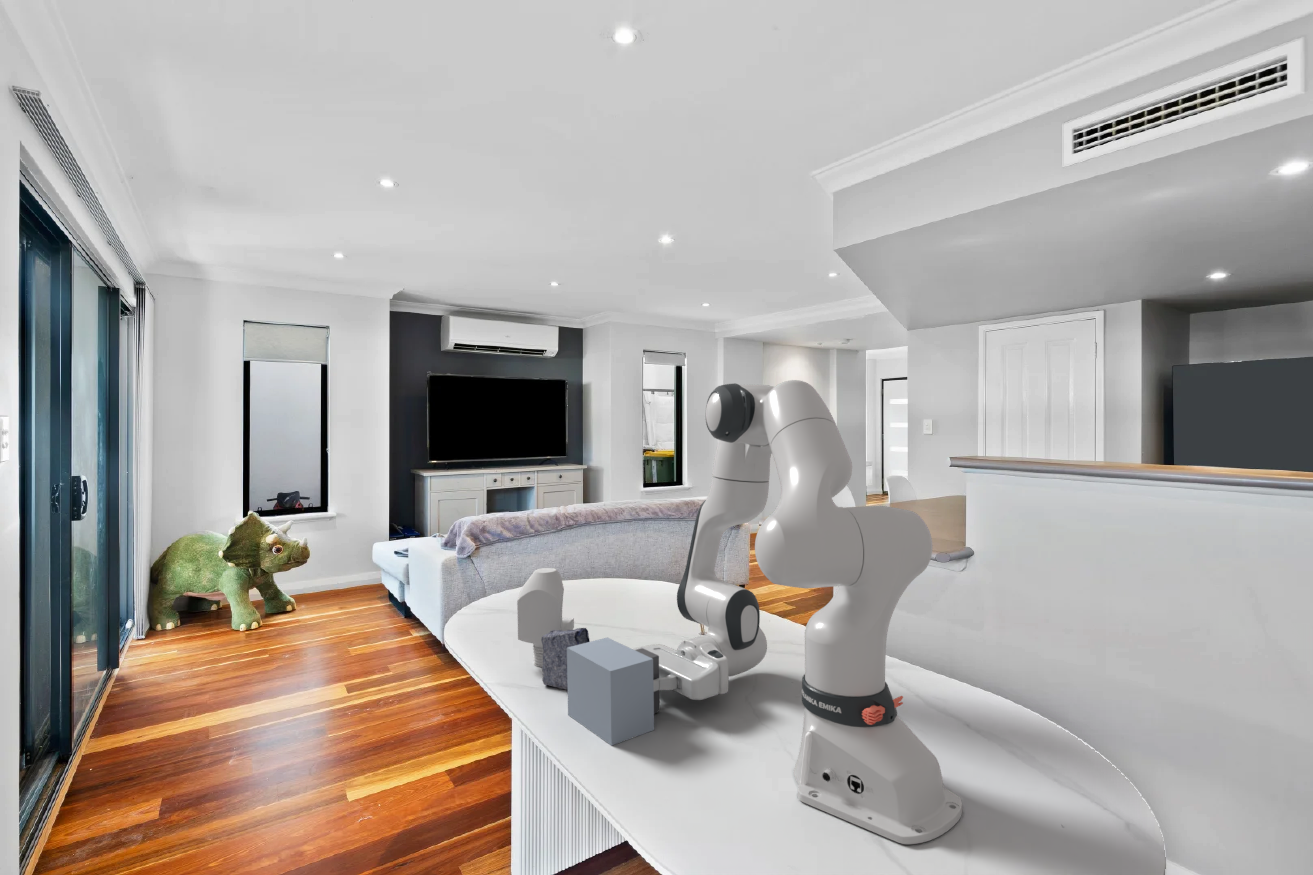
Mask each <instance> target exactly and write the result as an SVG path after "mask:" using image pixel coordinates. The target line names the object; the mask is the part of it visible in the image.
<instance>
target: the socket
mask: <svg viewBox="0 0 1313 875" xmlns="http://www.w3.org/2000/svg"><path fill="white" fill-rule="evenodd" d="M633 649H634V648H631V647H629V646H626V644H625V645H624V644H623V643H620V642H619V641H616V640H614V639H612V638H610V637H603V638H600V639H595V640H591V641H590V642H587V643H583V644H579V645H575V646H571V647H567V684H568V690H567V715H568V716H569V717H570V718H572V719H573V720H574V721H576V722H577V723H579V725H582V727H583V728H584V727H585V729H588V730H589V731H590V732H591V733H593V734H594V735H596V736H597V737H599V738H600V739H601V740H603V741H604V742H606V743H607V744H608V745H609V746H615V745H617V744H620V743H622V741H623V742H625V741H624V740H626V741H628V740H631V739H633V738H632V737H634V738H636V737H639V736H641V735H645V734H647V733H649V732H652V731H654V730H655V713H654V689H653V659H652V658H650V657H648V656H646V655H644V654H642V653H640V652H637V651H635V650H633ZM635 736H636V737H635Z"/></svg>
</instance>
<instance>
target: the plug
mask: <svg viewBox="0 0 1313 875" xmlns="http://www.w3.org/2000/svg"><path fill="white" fill-rule="evenodd" d="M635 651H637V652H640V653H642V654H644V655H646V656H648V657H650V658H652V659H653V678H659V656H658V655H656V654H654V653H652V652H650V651H648V650H645V649H643V648H641V649H637V650H635ZM660 703H661V702H660V690H657V691H654V714H657V713H659V712H661V709H660V706H661V705H660Z"/></svg>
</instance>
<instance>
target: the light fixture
mask: <svg viewBox="0 0 1313 875" xmlns="http://www.w3.org/2000/svg"><path fill="white" fill-rule="evenodd" d="M564 587H565V586H564V584H563V578H562V576H561V573H560V572H559V570H557V569H556V568H553V567H542V568H538V569H535V570H533V573H532V574H531V575H530V576H529V578H528V579H527V580H526V581H525V582H524V584H523V585H522V587H521V590H520V592H519V595H518V597H517V602H516V606H517V639H518V640H519V641H521V642H523V643H524V642H525V643H528V644H532V655H533V656H532V658H533V665H534V666H536V667H538V666H539V668H542V666H543V646H542V642H541V638H542V636H543V635H545V634H548V633H549V632H550V631H551V630H561V631H567V630H574V629H575V620H574V619H575V618H574V617H563V605H564V604H563V603H564V591H565V588H564Z"/></svg>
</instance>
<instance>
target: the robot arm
mask: <svg viewBox="0 0 1313 875" xmlns="http://www.w3.org/2000/svg"><path fill="white" fill-rule="evenodd" d="M705 423H706V424H705V425H706V428H707V430H708V431H709V433H710V435H711V436H712V437H713V438H714V439H716V440H718V441H717V445H716V449H715V454H714V459H713V460H714V461H713V466H712V473H711V474H712V477H711V484H710V487H709V492H708V494H707V497H706V499H705V500H704V501H703V502H702V503H701V504H700V507H699V509H698V510H697V513H696V518H695V521H694V525H693V531H692V535H691V541H690V546H689V549H688V550H689V551H688V555H687V560H686V564H685V568H684V573H683V575H682V577H681V580H680V583H679V586H678V588H677V593H676V601H677V602H676V605H677V608H678V611H679V613H680V614H681V616H682V617H683V618H684V619H685V620H688V621H689V622H690V621H691V622H693V623H697V624H699V625H700V624H701V625H703V626H705V627H707V628H708V631H707V633H705V634H702V635H700V636H697V637H695V636H694V637H692V638H689V639H686V640H685V639H684V640H682V641H681V642H680V643H678V644H679V645H678V646H677V649H674V648H672V647H669V646H668V645H665V644H660V643H658V644H657V643H655V644H649V645H642V646H639V647H634V648H632V649H633V650H637V649H641V648H643V649H645V650H648V651H650V652H652V653H654V654H656V655H658V656H659V678H653V689H654V691H657V690H659V691H672V690H673V691H674V692H677V693H679V694H680V695H682V696H685V697H686V698H688V699H690V700H693V701H701V700H706V699H709V698H712V697H715V696H718V695H724V694H726V693H728V692H729V678H730V677H734V676H735V677H736V676H737V675H740V674H742V673H745V672H747V671H749V670H752V669H754V668H755V667H756V666H758V665H759V664H760V663H761V662H762V661H764V658H765V657H766V655H767V650H768V640H767V637H766V634H765V633H764V631H763V629H761V627H760V621H761V618H760V617H761V616H760V615H761V614H760V612H761V611H760V606H759V601H758V599H757V597H756V595H755V594H754V593H753V591H751V590H749V589H746V588H745V587H742V586H738V585H737V584H734V583H730V582H728V581H724V580H722V579H720V578H718V576H717V575H716V572H715V567H716V564H717V558H718V553H719V549H720V544H721V540H722V536H724V534H725V532H726V531H727V530H728V529H730V528H732V527H735V526H739V525H743V524H746V523H748V522H751V521H753V520H754V519H756V518H757V517H759V515H760V514H761V513H762V512H763V511H764V510H765V509H766V508H765V507H766V506H767V502H768V498H769V490H770V489H769V486H770V475H771V474H770V473H771V471H770V470H771V456H772V458H773V460H774V461H773V462H774V464H775V467H776V471H777V474H778V480H779V484H780V497H779V501H778V504H777V506H776V508H775V509H774V511H773V512H772V513H771V514H769V515H768V517H766V518H765V519H764V521H763V522H762V523H761V525H760V527H759V528H758V531H757V533H756V536H755V542H754V553H755V559H756V562H757V565H758V567H759V569H760V571H761V572H762V574H763V575H764V577H766V579H767V580H768V581H769V582H771V583H772V584H774V585H778V586H783V587H791V588H799V589H818V588H819V589H820V588H832V587H837V589H836V591H835V593H834V594H833V597H831V599H830V601H829V602H828V603H826V605H825V606H823V607H822V608H820V609H819V610H818V611H816V612H814V613H813V614H812V615H811V616H810V618H809V619H808V621H807V624H806V626H805V628H804V674H803V676H802V679H801V680H802V681H801V703H802V705H803V708H804V710H803V723H802V732H801V741H800V746H799V752H798V755H797V759H796V762H795V763H796V764H795V765H794V770H793V774H794V779H795V780H796V782H797V785H798V789H797V799H798V800H799V801H800V802H802V803H804V804H806V805H807V806H808V805H809V806H811V807H813V808H815V809H818V810H821V811H823V812H824V813H827V814H830V815H832V816H835V817H836V818H840V819H842V820H844V821H846V822H849V823H851V824H853V825H856V826H858V827H861V828H863V829H865V830H868V831H870V832H873V833H875V834H877V835H879V836H882V837H884V838H886V839H888V840H891V841H893V842H896V843H899V844H900V845H901V844H902V845H916V844H922V843H925V842H929V841H932V840H934V839H936V838H939V837H940V836H942V835H944V834H945V833H947V832H948V831H949V830H950V829H952V828H953V827H954V826H955V825H956V824H957V823H958V822H959V821H960V819H961V817H962V816H963V805H962V804H963V803H962V799H961V797H960V796H958V795H957V794H956V793H954V792H952V791H950V790H949V789H948V788H946V787H945V786H944V781H943V776H942V770H941V766H940V763H939V761H938V758H937V757H936V756H935V754H934V753H933V752H932V751H931V750H930V749H929V748H928V747H927V746H926V745H925V744H924V743H923V741H921V739H920V738H919V737H918V736H917V735H916V734H915V733H914V732H913V731H912V730H911V728H909V726H908V725H907V724H906V723H905V722H904V721H903V719H901V718H900V717H899V715H898V710H897V708H899V706H902V705H903V704H904V702H903V701H902V700H903V698H904V696H903V695H900V696H898V697H896V698H893V696H892V692H891V690H890V688H889V685H888V683H887V682H886V658H887V657H886V652H887V637H888V631H889V627H890V624H891V623H890V622H891V619H892V617H893V614H894V611H895V609H896V606H897V605H898V602H899V601H900V599H901V597H902V595H903V594H904V592H905V591H906V589H907V588H908V587H909V586H910V584H911V583H912V582H913V581H914V580H915V579H916V578H918V576H920V575H921V574H922V573H923V572H925V570H926V569H927V567H928V565H929V564H930V562H931V559H932V556H933V549H934V548H933V546H934V545H933V538H932V534H931V531H930V529H929V527H928V525H927V524H926V522H925V521H924V520H923V518H922V517H921V516H920V515H919V514H918V513H916V512H914V511H913V510H910V509H904V508H899V507H893V506H886V505H872V506H871V505H870V506H852V507H851V506H848V507H846V506H845V507H843V506H838V505H836V504H835V502H834V500H833V498H834V497H836V496H837V495H839V493H841V492H842V491H843V490H844V489H845V488H846V487H847V485H848V484H849V482H850V480H851V477H852V474H853V462H852V459H851V457H850V454H849V452H848V449H847V447H846V445H845V442H844V441H843V438H842V435H841V433H840V431H839V428H838V426H837V423H836V422H835V419H834V418H833V415H832V413H831V411H830V409H829V408H828V406H827V404H826V403H825V400H823V398H822V396H820V394H819V393H818V391H817V390H816V389H815V387H814V386H812V385H811V384H809V383H808V382H806V381H803V380H797V379H791V380H786V381H782V382H781V383H778V384H777V385H775V386H771V385H768V384H738V383H726V384H725V383H724V384H721V385H718V386H717V387H715V389H713V390H712V391H711V393H710V394H709V396H708V399H707V402H706V406H705Z"/></svg>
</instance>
